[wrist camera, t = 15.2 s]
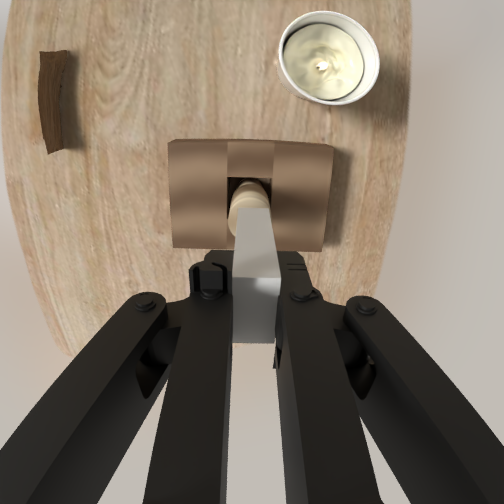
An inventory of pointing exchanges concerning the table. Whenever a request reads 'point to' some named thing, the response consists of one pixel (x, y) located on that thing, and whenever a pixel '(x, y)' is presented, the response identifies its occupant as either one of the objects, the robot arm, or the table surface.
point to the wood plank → (51, 97)
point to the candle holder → (327, 58)
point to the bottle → (247, 200)
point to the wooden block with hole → (248, 165)
